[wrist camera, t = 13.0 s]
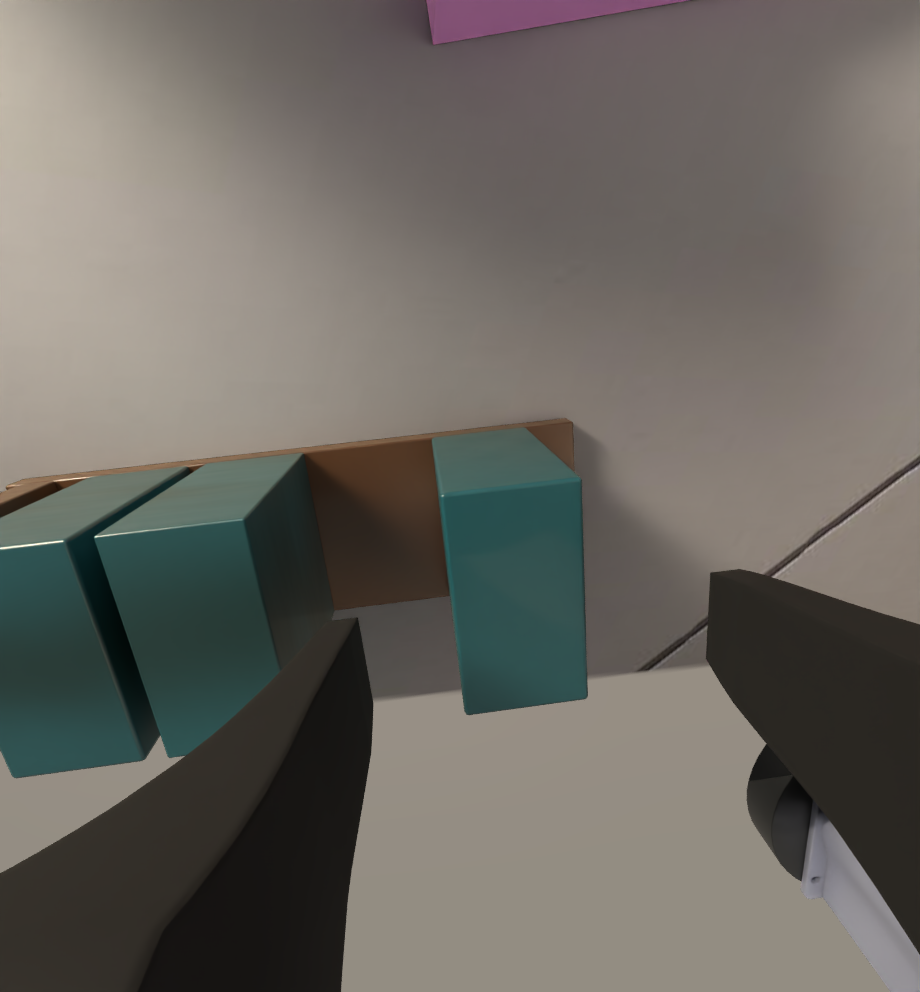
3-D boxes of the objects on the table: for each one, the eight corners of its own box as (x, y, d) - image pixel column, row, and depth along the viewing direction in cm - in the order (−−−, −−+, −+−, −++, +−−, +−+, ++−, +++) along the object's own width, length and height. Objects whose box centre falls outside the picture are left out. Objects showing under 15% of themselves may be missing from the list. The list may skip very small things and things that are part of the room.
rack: (572, 570, 19) (651, 692, 13) (79, 632, 18) (-103, 796, 12) (566, 417, 18) (655, 469, 11) (22, 478, 17) (-226, 573, 10)
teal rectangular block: (525, 426, 17) (583, 477, 11) (535, 584, 18) (588, 700, 13) (431, 436, 17) (439, 494, 11) (449, 596, 18) (465, 717, 13)
